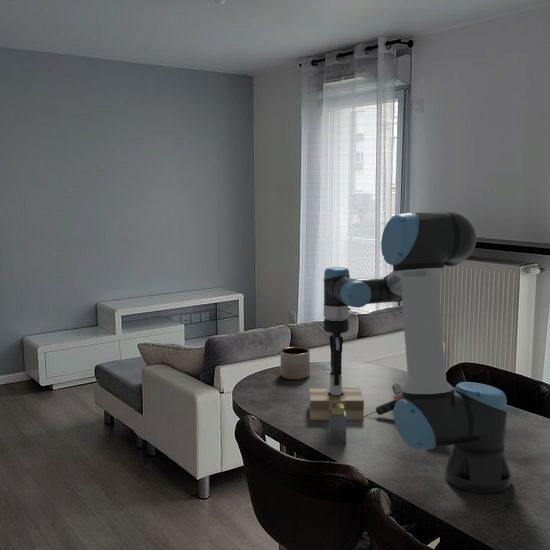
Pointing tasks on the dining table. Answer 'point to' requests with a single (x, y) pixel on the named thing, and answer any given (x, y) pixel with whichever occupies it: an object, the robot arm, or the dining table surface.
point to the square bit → (337, 424)
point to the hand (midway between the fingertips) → (335, 392)
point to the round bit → (331, 385)
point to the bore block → (323, 403)
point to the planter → (295, 363)
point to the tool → (391, 405)
